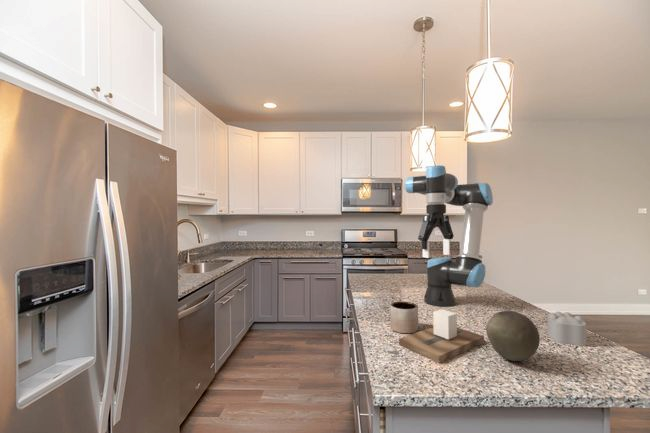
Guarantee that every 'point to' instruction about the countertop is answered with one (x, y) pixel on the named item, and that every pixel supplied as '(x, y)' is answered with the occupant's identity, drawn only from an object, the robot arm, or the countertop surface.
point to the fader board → (440, 344)
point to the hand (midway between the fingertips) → (436, 256)
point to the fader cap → (445, 324)
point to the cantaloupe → (513, 335)
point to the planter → (404, 317)
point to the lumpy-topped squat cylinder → (567, 329)
